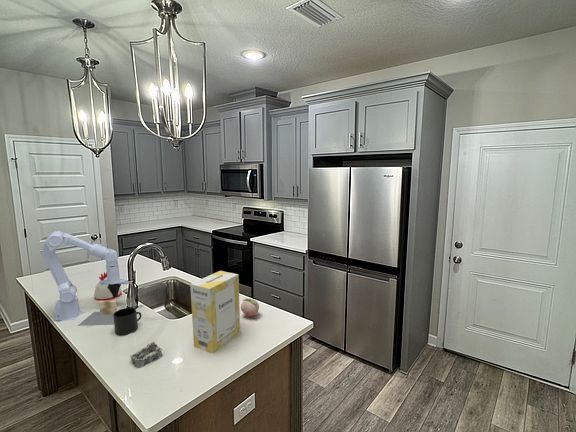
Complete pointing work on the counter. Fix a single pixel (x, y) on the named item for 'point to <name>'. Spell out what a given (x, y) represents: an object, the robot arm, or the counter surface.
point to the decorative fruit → (250, 307)
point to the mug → (126, 321)
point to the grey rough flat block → (142, 354)
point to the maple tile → (107, 307)
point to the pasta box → (215, 310)
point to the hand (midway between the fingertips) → (115, 297)
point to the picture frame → (98, 319)
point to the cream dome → (104, 291)
